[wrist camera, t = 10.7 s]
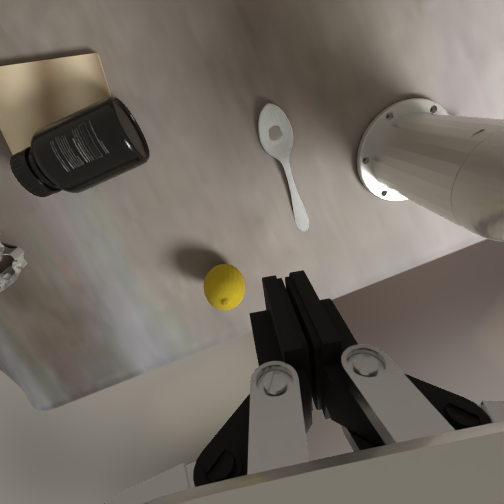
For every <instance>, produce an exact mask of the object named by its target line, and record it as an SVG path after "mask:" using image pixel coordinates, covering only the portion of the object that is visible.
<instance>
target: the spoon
mask: <svg viewBox="0 0 504 504" xmlns="http://www.w3.org/2000/svg"><path fill="white" fill-rule="evenodd" d="M272 126H279V128H280V130H281V132H282V136H281V137H280V138H279V139H278V140H271V139H270V137H269V129H270V128H271V127H272ZM258 133H259V139H260V143H261V145H262V147H263V148H264V150H265V151H266V152H267V153H268V154H269V155H270V156H272V157H274V158H276V159H278V160H279V161H280V162H281V163H282V165H283V167H284V170H285V173H286V176H287V180H288V184H289V188H290V192H291V198H292V205H293V211H294V217H295V221H296V225H297V226H298V228H299V229H300V230H301V231H306V230H307V229H308V227H309V219H308V216H307V213H306V211H305V208H304V206H303V203H302V201H301V199H300V196H299V194H298V192H297V189H296V186H295V183H294V180H293V177H292V173H291V169H290V164H289V156H290V152H291V149H292V147H293V141H294V136H293V130H292V127H291V124H290V122H289V120H288V118H287V116H286V114H285V113H284V112H283V110H282V109H281V108H280V107H279V106H277V105H275V104H271V103H268V104H266V105H265V106H264V107H263V109H262V111H261V112H260V115H259V119H258Z"/></svg>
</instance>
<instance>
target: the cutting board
mask: <svg viewBox="0 0 504 504" xmlns="http://www.w3.org/2000/svg"><path fill="white" fill-rule="evenodd" d="M107 97H112V96H111V93H110V89H109V86H108V83H107V80H106V76H105V73H104V70H103V67H102V64H101V60H100V57H99V54H97V53H92V54H84V55H77V56H70V57H63V58H56V59H49V60H42V61H35V62H28V63H20V64H13V65H6V66H0V130H1V132H2V134H3V136H4V138H5V140H6V142H7V144H8V146H9V148H10V150H11V152H12V155H14V154H16V153H18V152H20V151H22V150H23V149H25V148H27V147H30V143H31V138H32V136H33V134H34V133H35V132H36V131H37V130H39V129H41V128H43V127H45V126H47V125H49V124H51V123H53V122H55V121H57V120H60V119H62V118H64V117H66V116H68V115H70V114H72V113H74V112H76V111H79V110H81V109H83V108H85V107H87V106H89V105H91V104H93V103H95V102H98V101H100V100H102V99H104V98H107Z"/></svg>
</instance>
